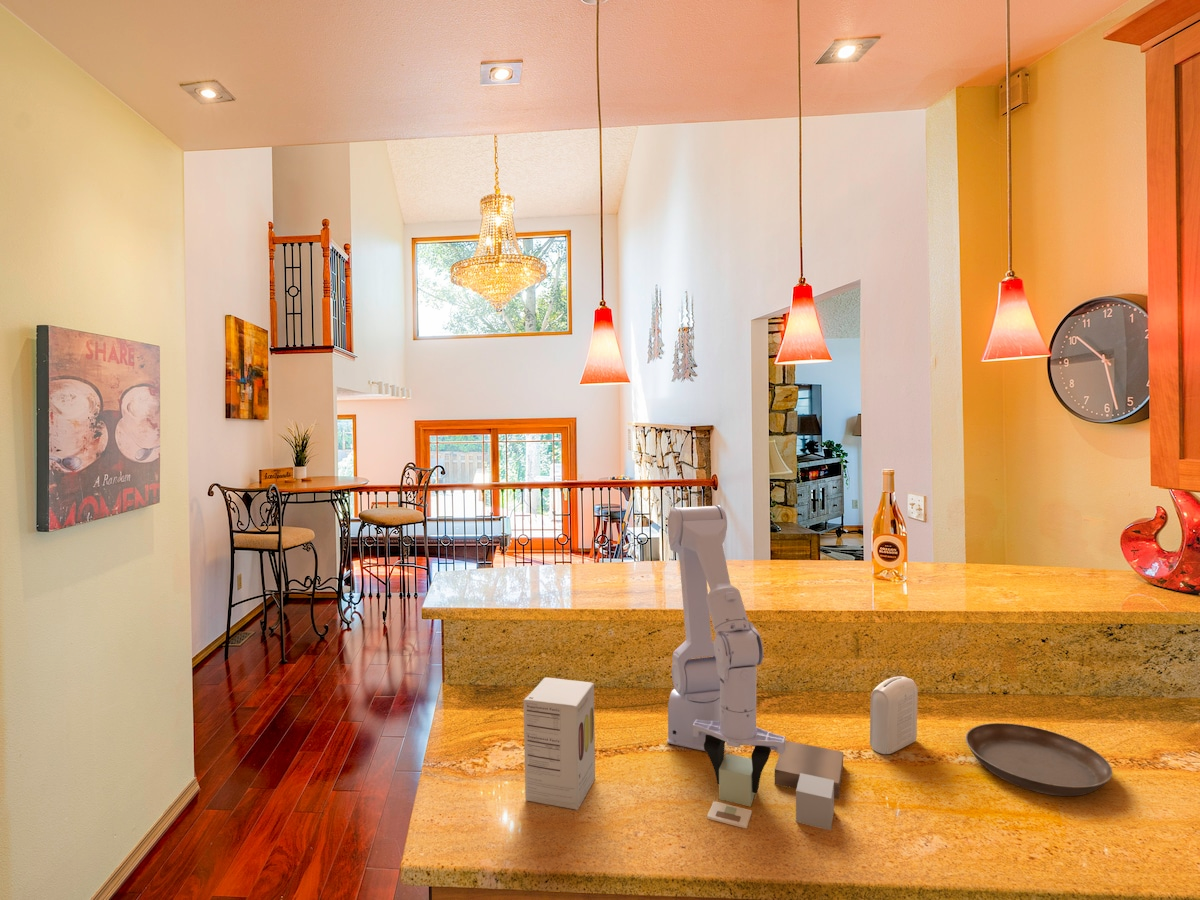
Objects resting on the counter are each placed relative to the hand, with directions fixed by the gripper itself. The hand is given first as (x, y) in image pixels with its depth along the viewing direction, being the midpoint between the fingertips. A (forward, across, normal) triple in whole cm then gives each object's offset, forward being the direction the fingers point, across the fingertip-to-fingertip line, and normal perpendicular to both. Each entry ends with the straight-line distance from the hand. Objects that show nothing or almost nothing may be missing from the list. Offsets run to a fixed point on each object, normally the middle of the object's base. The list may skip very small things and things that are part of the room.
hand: (738, 785), depth 104 cm
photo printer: (+2, +23, +26) cm, 35 cm away
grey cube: (+2, +12, -1) cm, 12 cm away
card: (+1, 0, -6) cm, 6 cm away
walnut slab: (+2, +10, +10) cm, 14 cm away
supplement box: (+2, -27, -10) cm, 29 cm away
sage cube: (+1, 0, 0) cm, 1 cm away
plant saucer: (+2, +45, +27) cm, 53 cm away
